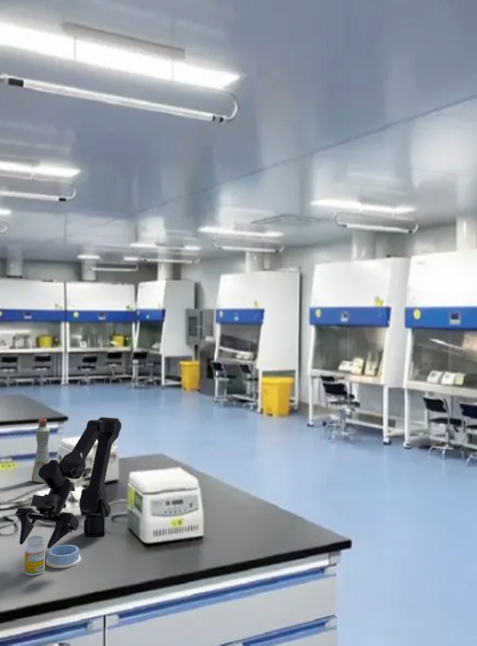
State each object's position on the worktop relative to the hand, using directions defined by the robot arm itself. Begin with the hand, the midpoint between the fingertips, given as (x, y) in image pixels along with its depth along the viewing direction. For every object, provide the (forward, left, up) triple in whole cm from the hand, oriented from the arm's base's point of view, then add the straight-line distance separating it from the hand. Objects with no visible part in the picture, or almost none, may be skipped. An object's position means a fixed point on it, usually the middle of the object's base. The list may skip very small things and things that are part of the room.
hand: (34, 546), depth 174 cm
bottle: (+16, -98, -8) cm, 100 cm away
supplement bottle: (0, 0, -8) cm, 8 cm away
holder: (-7, -7, -8) cm, 13 cm away
